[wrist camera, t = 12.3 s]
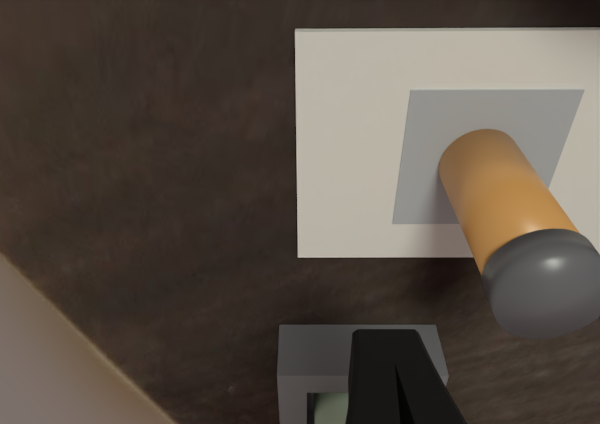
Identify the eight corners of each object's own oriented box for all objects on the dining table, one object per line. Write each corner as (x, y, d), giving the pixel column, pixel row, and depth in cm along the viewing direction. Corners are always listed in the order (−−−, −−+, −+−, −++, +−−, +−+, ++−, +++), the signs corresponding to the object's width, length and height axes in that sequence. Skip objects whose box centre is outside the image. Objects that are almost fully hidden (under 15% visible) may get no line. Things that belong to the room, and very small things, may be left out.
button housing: (435, 324, 26) (448, 375, 23) (414, 409, 31) (423, 459, 28) (279, 324, 26) (276, 375, 23) (283, 409, 31) (281, 458, 28)
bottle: (530, 124, 18) (635, 256, 13) (510, 195, 20) (594, 336, 15) (441, 128, 18) (508, 261, 13) (431, 199, 20) (484, 341, 15)
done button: (399, 362, 26) (408, 416, 24) (390, 408, 29) (397, 461, 26) (314, 362, 26) (315, 416, 24) (313, 408, 29) (314, 460, 26)
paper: (723, 26, 16) (731, 30, 16) (609, 252, 22) (613, 258, 22) (295, 28, 16) (295, 32, 16) (298, 252, 23) (297, 258, 22)
